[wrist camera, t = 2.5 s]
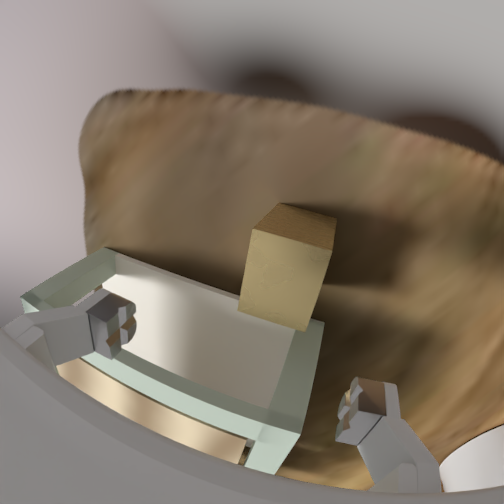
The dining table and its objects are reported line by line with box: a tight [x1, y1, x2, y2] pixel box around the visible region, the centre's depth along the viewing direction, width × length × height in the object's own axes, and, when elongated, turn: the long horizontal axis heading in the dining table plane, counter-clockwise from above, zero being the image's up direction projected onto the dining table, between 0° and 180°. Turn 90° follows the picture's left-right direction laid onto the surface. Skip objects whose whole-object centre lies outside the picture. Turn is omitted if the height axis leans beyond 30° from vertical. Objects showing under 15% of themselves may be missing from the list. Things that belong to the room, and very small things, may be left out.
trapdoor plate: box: [56, 357, 248, 464], centre depth 22 cm, size 16×24×5 cm
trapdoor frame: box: [20, 247, 325, 475], centre depth 24 cm, size 21×21×10 cm
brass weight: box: [237, 203, 337, 332], centre depth 18 cm, size 4×5×6 cm
